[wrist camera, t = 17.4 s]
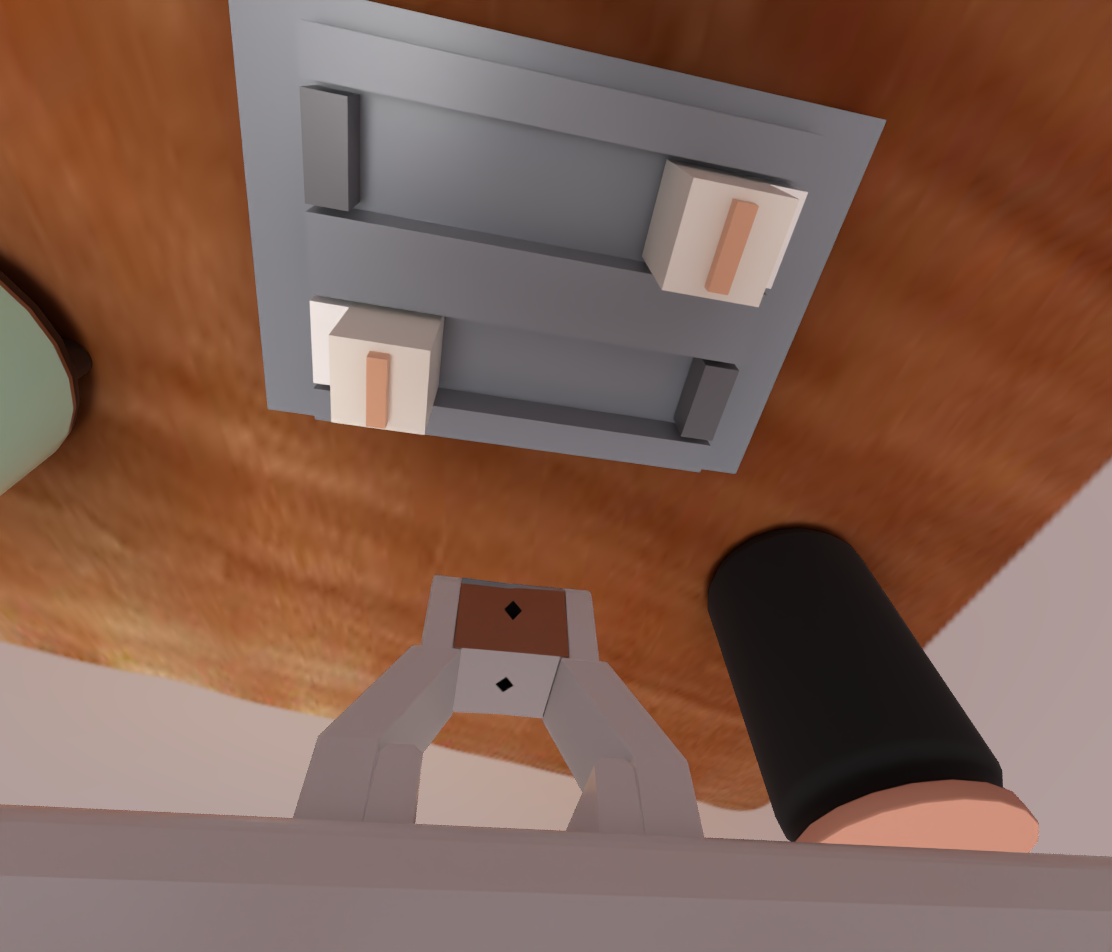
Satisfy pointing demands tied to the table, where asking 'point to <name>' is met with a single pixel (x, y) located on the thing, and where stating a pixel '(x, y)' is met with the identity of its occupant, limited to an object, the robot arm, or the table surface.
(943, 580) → the table surface
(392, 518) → the table surface
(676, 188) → the tab
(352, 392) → the tab
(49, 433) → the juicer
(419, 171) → the switch bank
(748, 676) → the coffee jar
